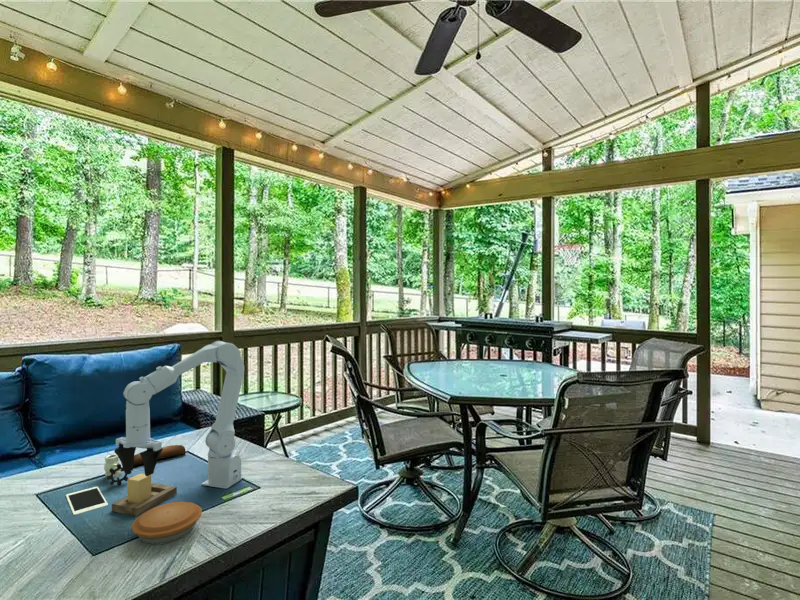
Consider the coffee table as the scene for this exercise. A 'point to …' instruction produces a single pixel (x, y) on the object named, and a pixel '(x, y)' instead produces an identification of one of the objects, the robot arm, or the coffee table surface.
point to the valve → (114, 470)
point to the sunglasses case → (162, 453)
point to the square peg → (139, 488)
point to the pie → (166, 522)
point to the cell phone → (86, 500)
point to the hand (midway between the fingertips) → (138, 473)
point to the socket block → (157, 496)
